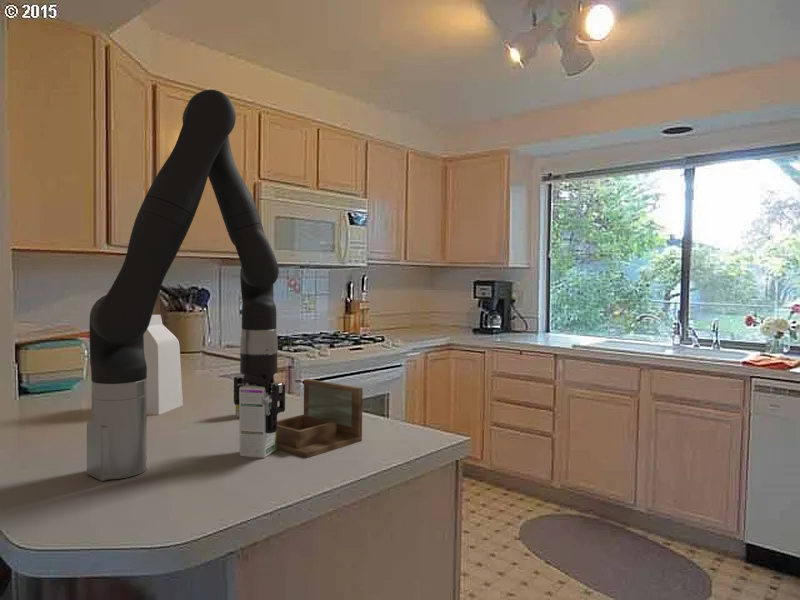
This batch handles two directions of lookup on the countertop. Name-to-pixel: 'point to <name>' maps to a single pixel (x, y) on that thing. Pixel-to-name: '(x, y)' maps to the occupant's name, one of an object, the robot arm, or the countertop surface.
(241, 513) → the countertop surface
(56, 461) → the countertop surface
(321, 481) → the countertop surface
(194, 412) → the countertop surface
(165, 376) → the milk
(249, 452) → the syrup box
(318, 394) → the display stand
